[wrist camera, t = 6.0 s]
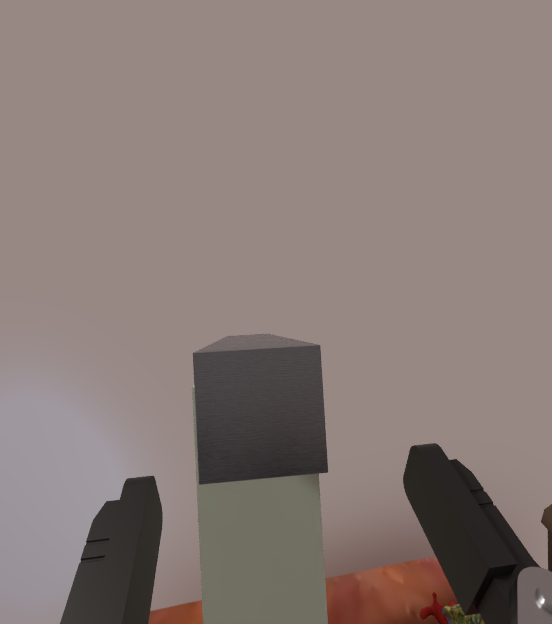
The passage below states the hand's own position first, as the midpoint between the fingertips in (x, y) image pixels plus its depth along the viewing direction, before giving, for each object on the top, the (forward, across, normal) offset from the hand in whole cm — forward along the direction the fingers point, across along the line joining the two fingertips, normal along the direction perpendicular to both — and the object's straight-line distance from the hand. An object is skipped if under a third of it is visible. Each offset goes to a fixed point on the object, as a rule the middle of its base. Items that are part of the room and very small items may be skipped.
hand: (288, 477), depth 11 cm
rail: (+11, 0, -6) cm, 12 cm away
